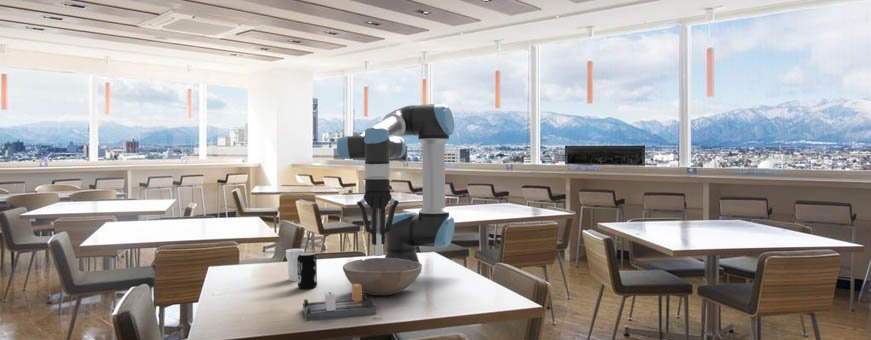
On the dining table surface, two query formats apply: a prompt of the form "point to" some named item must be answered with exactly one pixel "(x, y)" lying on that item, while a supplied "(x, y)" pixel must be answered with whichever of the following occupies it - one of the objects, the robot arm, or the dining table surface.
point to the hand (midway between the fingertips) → (378, 255)
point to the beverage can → (307, 270)
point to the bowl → (382, 274)
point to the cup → (293, 263)
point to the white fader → (330, 301)
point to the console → (339, 309)
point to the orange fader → (356, 292)
